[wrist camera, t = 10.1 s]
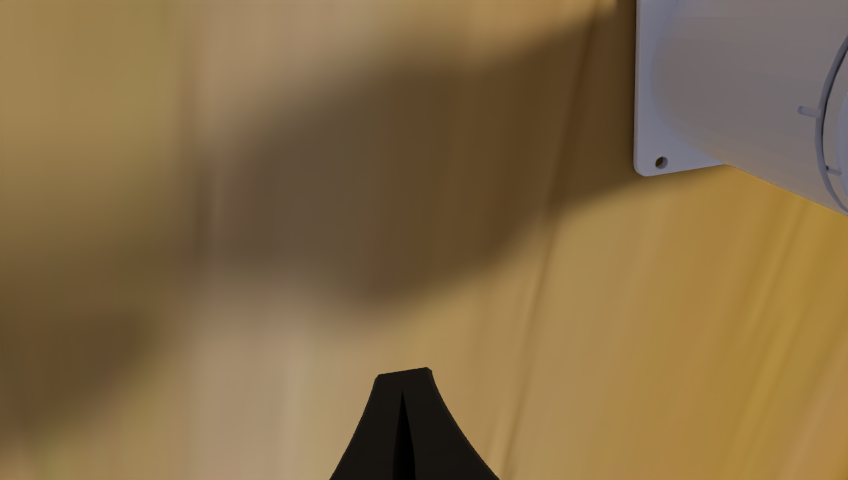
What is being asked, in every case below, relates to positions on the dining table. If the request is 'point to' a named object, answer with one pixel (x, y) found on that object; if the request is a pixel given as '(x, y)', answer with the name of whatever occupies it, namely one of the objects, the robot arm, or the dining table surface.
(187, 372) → the dining table surface
